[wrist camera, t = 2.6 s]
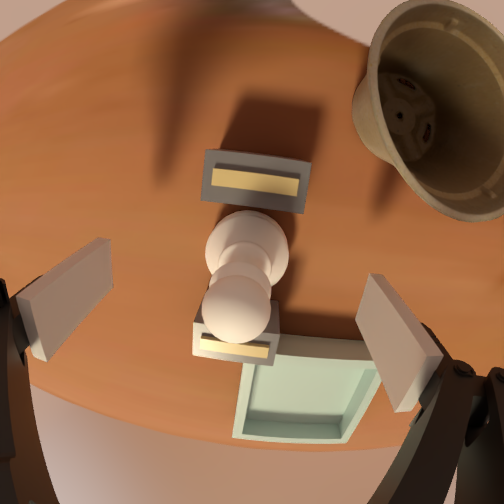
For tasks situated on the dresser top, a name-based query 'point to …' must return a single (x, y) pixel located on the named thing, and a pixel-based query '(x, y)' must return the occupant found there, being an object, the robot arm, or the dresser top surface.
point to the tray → (306, 392)
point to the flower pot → (438, 106)
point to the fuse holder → (254, 195)
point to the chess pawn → (243, 274)
